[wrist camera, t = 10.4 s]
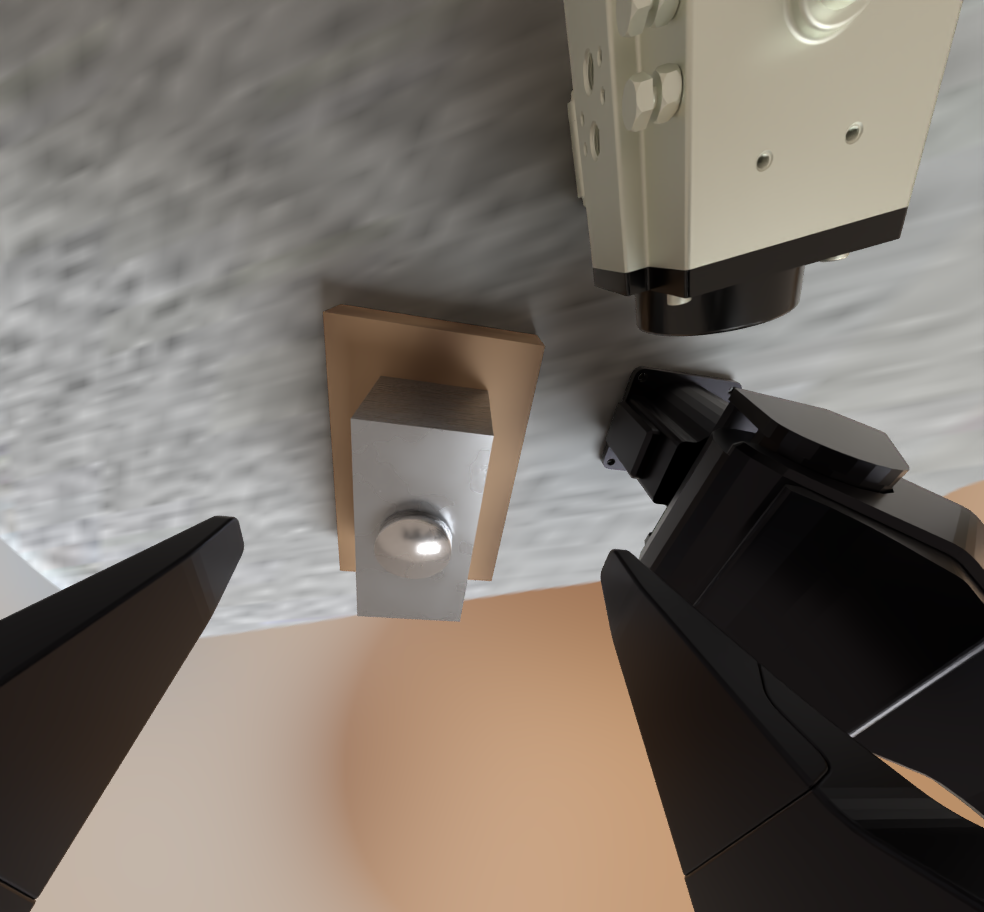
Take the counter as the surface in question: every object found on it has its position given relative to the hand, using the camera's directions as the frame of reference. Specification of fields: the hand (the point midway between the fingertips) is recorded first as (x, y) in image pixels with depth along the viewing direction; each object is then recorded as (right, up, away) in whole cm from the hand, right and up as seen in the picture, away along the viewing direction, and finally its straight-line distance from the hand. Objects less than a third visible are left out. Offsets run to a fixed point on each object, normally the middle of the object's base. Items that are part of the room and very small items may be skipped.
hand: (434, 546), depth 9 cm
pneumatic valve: (+6, +15, +7) cm, 18 cm away
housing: (-2, +1, +11) cm, 12 cm away
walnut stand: (-2, +2, +14) cm, 14 cm away
